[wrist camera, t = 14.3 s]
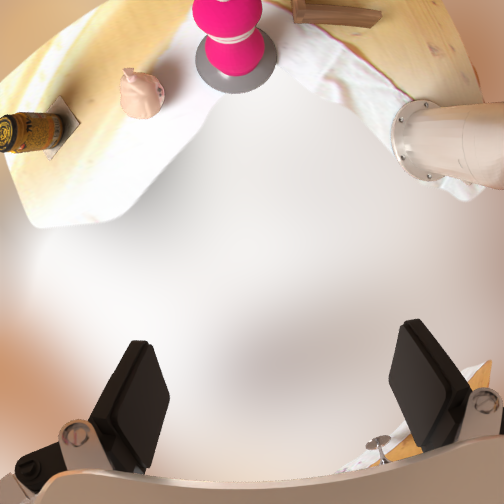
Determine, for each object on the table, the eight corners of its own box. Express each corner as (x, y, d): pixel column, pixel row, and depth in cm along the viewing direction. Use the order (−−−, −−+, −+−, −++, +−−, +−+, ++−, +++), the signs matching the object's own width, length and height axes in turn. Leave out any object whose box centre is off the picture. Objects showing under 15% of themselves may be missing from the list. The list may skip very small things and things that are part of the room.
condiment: (31, 131, 38) (-16, 135, 26) (60, 95, 36) (12, 89, 24) (50, 161, 39) (2, 170, 28) (80, 124, 38) (32, 123, 26)
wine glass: (375, 452, 64) (387, 494, 50) (358, 447, 63) (369, 492, 48) (397, 437, 62) (412, 479, 48) (381, 432, 60) (396, 477, 46)
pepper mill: (199, 52, 34) (158, -14, 15) (243, 25, 32) (236, -55, 14) (229, 89, 36) (207, 41, 17) (274, 62, 34) (291, -3, 16)
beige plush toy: (177, 83, 36) (160, 71, 28) (161, 124, 38) (141, 121, 31) (137, 74, 35) (113, 62, 28) (122, 114, 37) (96, 110, 30)
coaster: (289, 41, 34) (289, 40, 33) (255, 105, 37) (255, 105, 37) (217, 15, 32) (217, 14, 32) (183, 77, 36) (182, 76, 35)
